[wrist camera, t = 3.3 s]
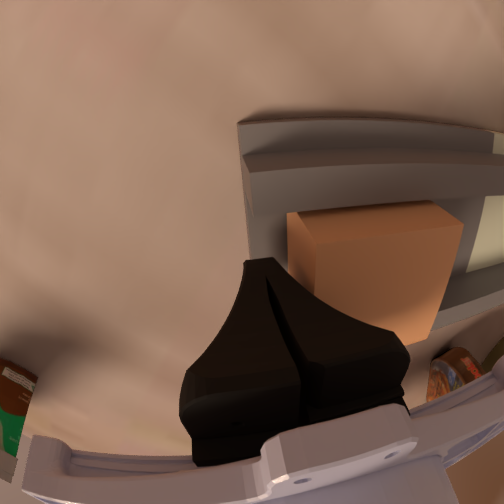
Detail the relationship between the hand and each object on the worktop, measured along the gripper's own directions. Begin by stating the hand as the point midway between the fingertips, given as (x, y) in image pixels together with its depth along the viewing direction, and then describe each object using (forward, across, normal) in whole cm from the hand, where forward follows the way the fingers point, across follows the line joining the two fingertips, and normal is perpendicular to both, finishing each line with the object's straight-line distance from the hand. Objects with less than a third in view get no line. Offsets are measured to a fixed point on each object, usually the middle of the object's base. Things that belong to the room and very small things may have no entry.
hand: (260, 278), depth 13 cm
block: (+1, -4, 0) cm, 5 cm away
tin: (+3, -18, +18) cm, 26 cm away
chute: (+2, -11, 0) cm, 11 cm away
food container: (+3, +24, +9) cm, 25 cm away
